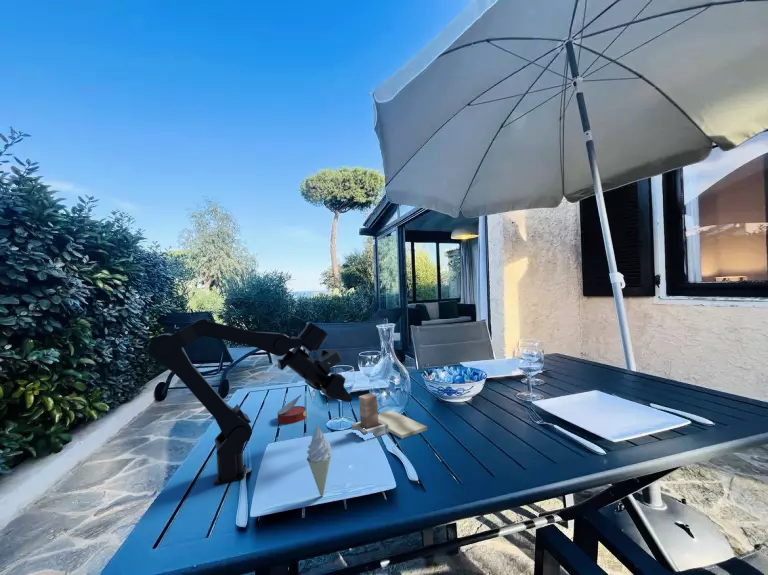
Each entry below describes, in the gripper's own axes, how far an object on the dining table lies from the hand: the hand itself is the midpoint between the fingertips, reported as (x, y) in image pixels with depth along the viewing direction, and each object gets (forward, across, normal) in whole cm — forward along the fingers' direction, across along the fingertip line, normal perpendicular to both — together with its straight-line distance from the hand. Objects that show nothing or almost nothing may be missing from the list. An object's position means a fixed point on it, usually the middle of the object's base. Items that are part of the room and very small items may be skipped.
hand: (344, 397), depth 96 cm
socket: (+18, 0, 0) cm, 18 cm away
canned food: (+3, +30, +15) cm, 34 cm away
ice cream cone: (-2, -22, +20) cm, 30 cm away
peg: (+14, 0, +4) cm, 14 cm away
